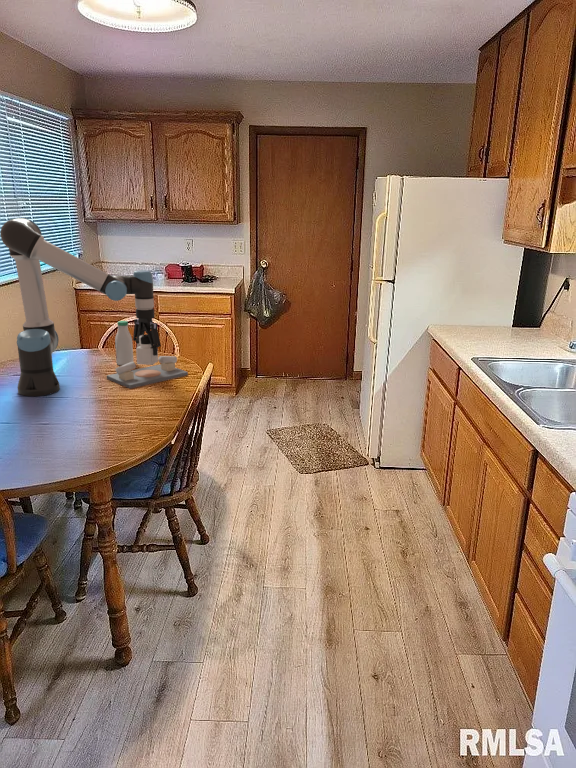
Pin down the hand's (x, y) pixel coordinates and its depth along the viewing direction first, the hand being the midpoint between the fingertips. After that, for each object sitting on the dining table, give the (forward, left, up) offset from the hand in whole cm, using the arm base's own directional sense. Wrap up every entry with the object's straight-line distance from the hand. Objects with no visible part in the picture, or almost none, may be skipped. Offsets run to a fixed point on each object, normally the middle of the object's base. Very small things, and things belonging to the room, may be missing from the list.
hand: (147, 360), depth 238 cm
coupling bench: (0, 0, -8) cm, 8 cm away
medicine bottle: (0, 0, -1) cm, 1 cm away
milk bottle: (+4, +25, -8) cm, 27 cm away
